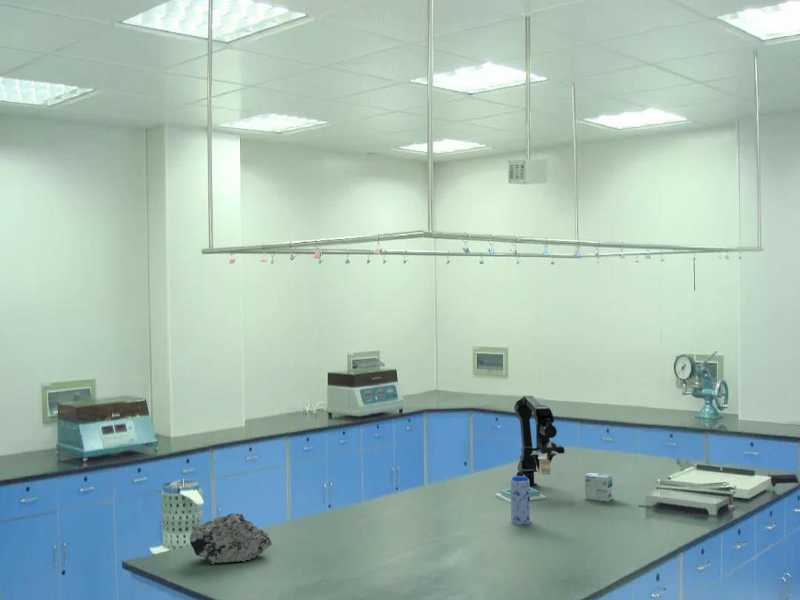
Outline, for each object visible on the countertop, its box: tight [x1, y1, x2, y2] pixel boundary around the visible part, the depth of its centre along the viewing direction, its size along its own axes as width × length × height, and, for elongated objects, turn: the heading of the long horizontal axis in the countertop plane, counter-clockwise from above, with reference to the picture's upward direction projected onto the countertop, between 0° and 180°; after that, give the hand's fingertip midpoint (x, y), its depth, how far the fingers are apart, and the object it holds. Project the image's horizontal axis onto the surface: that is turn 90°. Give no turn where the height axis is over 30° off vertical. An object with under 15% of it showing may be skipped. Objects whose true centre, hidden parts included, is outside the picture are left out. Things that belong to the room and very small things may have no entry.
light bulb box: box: [584, 472, 614, 502], centre depth 368 cm, size 11×7×11 cm, turn 58°
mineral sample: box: [189, 513, 273, 565], centre depth 292 cm, size 27×19×15 cm
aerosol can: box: [510, 471, 531, 526], centre depth 333 cm, size 8×8×20 cm
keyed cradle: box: [494, 486, 547, 504], centre depth 373 cm, size 14×18×3 cm
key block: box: [536, 456, 551, 476], centre depth 378 cm, size 10×4×6 cm, turn 4°
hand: (543, 468), depth 378 cm, fingers closed on key block, 4 cm apart
